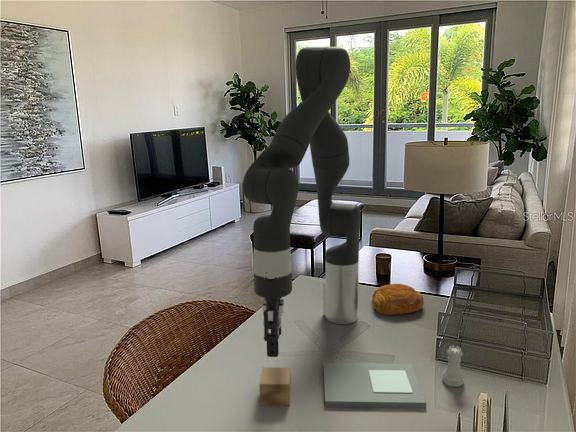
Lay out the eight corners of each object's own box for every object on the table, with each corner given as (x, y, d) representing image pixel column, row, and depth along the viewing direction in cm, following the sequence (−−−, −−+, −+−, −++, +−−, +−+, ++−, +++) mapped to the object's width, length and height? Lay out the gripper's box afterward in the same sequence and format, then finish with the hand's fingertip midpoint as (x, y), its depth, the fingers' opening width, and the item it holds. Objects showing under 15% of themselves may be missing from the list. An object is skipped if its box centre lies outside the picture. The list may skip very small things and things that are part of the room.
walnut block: (260, 405, 91) (259, 384, 90) (263, 388, 97) (262, 367, 96) (289, 406, 91) (289, 384, 90) (290, 388, 97) (290, 367, 96)
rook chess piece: (465, 389, 95) (468, 355, 93) (443, 387, 96) (445, 353, 94) (461, 377, 99) (464, 344, 98) (440, 375, 100) (442, 342, 98)
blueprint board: (325, 406, 90) (325, 400, 90) (323, 367, 104) (323, 362, 104) (426, 407, 89) (426, 401, 89) (410, 368, 103) (411, 363, 103)
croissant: (429, 321, 131) (434, 295, 129) (379, 319, 127) (384, 293, 125) (407, 300, 144) (411, 276, 143) (361, 298, 141) (365, 274, 139)
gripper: (257, 257, 95) (260, 328, 98) (248, 282, 81) (251, 363, 84) (293, 257, 94) (294, 328, 98) (290, 282, 80) (291, 364, 84)
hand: (274, 345), depth 91 cm, fingers open, 8 cm apart
